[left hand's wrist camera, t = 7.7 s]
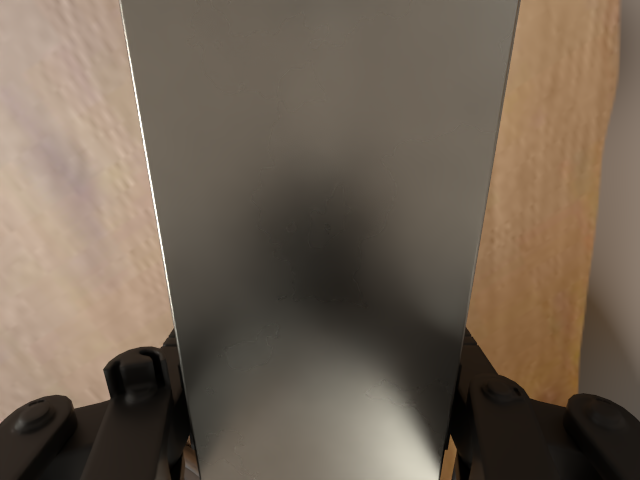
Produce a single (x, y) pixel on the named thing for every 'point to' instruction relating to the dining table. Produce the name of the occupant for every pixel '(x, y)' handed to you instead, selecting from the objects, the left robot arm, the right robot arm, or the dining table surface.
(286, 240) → the bar
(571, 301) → the dining table surface
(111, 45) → the dining table surface
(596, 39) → the dining table surface
